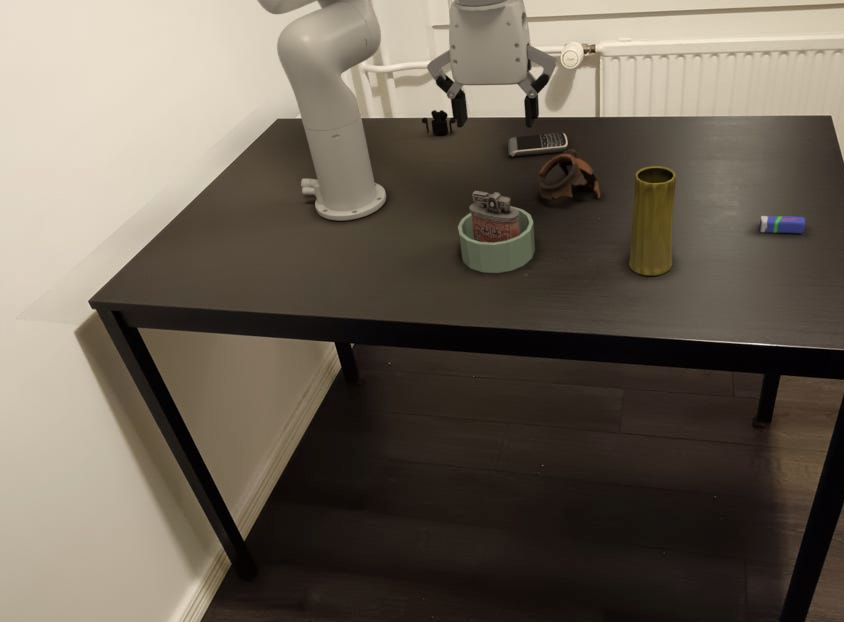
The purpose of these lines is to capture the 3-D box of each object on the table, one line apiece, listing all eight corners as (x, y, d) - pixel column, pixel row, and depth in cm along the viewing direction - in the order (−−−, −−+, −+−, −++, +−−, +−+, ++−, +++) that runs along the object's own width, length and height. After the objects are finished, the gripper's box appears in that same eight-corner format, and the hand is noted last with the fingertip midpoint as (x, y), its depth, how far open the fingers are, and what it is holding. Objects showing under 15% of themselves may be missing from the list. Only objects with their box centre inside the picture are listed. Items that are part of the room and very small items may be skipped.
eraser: (759, 226, 114) (761, 214, 112) (802, 228, 112) (804, 216, 111) (759, 233, 112) (761, 221, 111) (802, 235, 111) (805, 223, 109)
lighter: (526, 252, 115) (522, 193, 109) (515, 263, 113) (510, 204, 107) (481, 241, 119) (474, 184, 113) (470, 252, 117) (462, 194, 111)
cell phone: (568, 152, 140) (568, 145, 139) (509, 158, 140) (508, 151, 139) (565, 138, 144) (565, 131, 143) (507, 144, 145) (507, 137, 144)
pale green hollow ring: (453, 270, 114) (449, 242, 111) (472, 231, 122) (469, 204, 119) (525, 275, 111) (523, 246, 108) (540, 235, 119) (539, 207, 116)
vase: (663, 280, 106) (669, 188, 97) (621, 271, 109) (624, 181, 100) (678, 258, 110) (685, 168, 101) (638, 250, 112) (642, 161, 103)
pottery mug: (606, 209, 123) (583, 177, 118) (555, 231, 128) (531, 201, 122) (601, 160, 130) (579, 127, 125) (553, 182, 135) (530, 151, 129)
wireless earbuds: (423, 136, 152) (419, 112, 149) (426, 131, 154) (423, 107, 151) (456, 136, 151) (453, 112, 147) (459, 131, 152) (456, 106, 149)
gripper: (559, -23, 93) (563, 112, 104) (426, -16, 98) (444, 112, 109) (548, -5, 88) (553, 135, 98) (408, 2, 92) (428, 135, 103)
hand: (496, 123), depth 104 cm, fingers open, 9 cm apart
